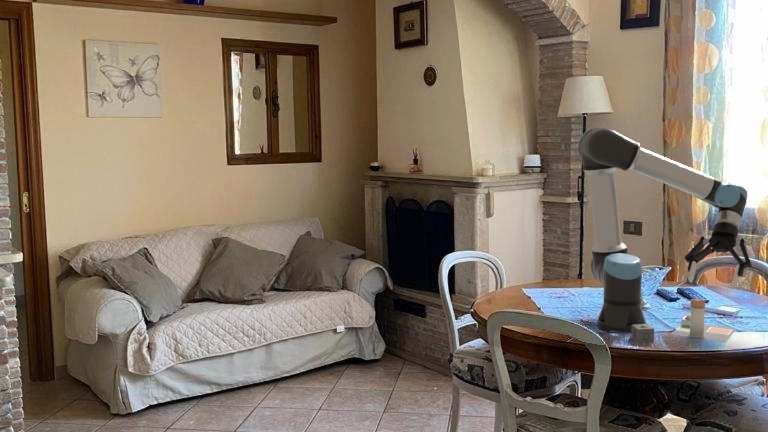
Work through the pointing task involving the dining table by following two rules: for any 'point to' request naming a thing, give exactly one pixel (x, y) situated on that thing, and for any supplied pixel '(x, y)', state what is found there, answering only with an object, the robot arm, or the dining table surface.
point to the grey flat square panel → (707, 333)
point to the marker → (697, 317)
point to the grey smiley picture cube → (642, 333)
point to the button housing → (685, 322)
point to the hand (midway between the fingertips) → (711, 282)
